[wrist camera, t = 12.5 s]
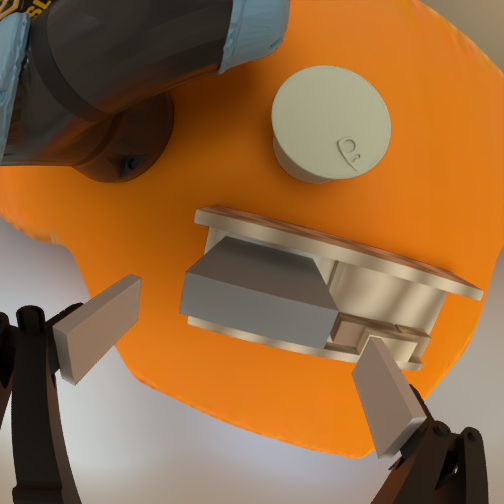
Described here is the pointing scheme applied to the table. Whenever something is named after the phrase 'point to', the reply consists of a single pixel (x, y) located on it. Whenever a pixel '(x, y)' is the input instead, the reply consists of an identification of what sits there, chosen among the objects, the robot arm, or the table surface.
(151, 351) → the table surface
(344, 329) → the walnut offcut long
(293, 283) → the slate board
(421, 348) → the oak offcut short
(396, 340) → the pine offcut top
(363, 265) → the rack
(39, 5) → the box
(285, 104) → the can
